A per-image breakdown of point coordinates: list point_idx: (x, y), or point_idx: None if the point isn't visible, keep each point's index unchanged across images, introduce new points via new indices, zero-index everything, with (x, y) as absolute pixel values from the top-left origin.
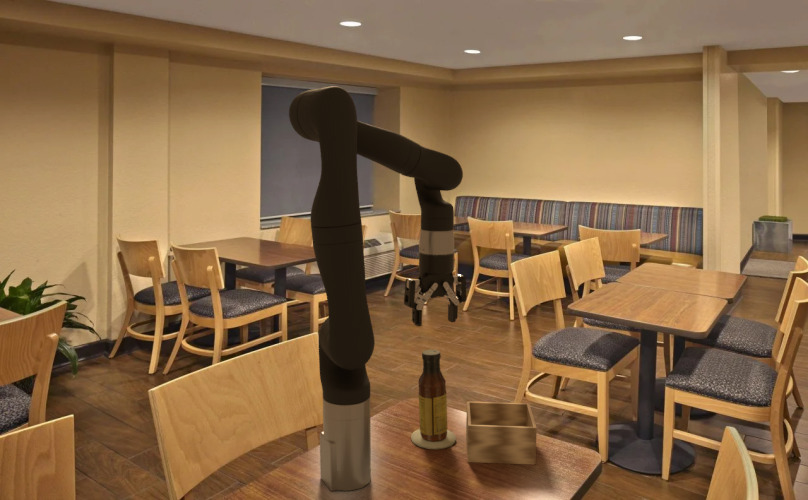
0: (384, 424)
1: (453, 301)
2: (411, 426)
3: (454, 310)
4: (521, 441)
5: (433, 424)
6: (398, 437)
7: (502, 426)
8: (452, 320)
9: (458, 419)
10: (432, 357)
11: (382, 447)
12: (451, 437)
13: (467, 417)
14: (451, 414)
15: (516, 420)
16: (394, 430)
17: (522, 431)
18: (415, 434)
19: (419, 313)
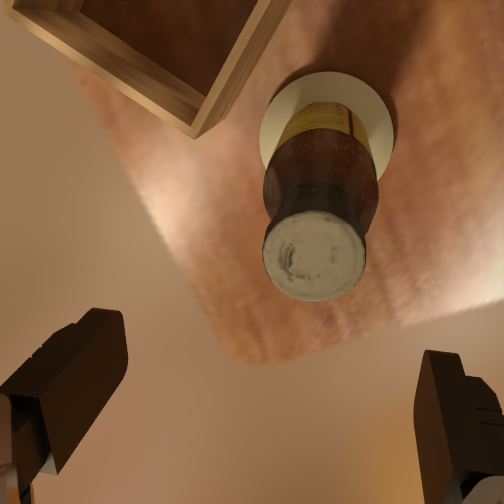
0: (391, 286)
1: (2, 439)
2: None
3: (52, 365)
4: None
5: (348, 115)
6: (406, 200)
7: None
8: (113, 321)
9: (194, 211)
10: (335, 210)
11: (487, 168)
12: (280, 111)
13: (252, 38)
14: (195, 246)
15: (76, 28)
16: (389, 242)
17: None
18: None
19: (478, 441)
